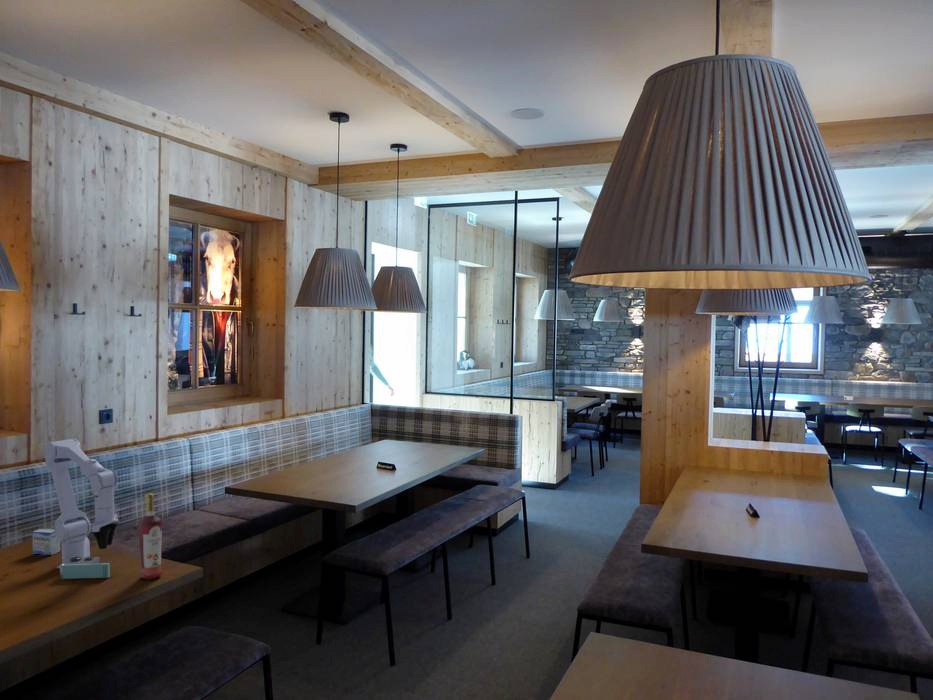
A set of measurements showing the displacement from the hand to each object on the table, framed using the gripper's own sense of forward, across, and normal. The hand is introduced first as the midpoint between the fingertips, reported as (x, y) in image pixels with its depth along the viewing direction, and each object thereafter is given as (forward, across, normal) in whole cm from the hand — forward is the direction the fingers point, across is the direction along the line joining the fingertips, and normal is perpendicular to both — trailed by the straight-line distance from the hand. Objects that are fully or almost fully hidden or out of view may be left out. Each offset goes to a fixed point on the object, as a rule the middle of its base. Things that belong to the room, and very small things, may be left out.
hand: (105, 546), depth 230 cm
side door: (+9, -4, +5) cm, 11 cm away
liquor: (+10, -4, -16) cm, 20 cm away
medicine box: (+10, +24, +32) cm, 40 cm away
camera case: (+9, +1, +8) cm, 13 cm away
